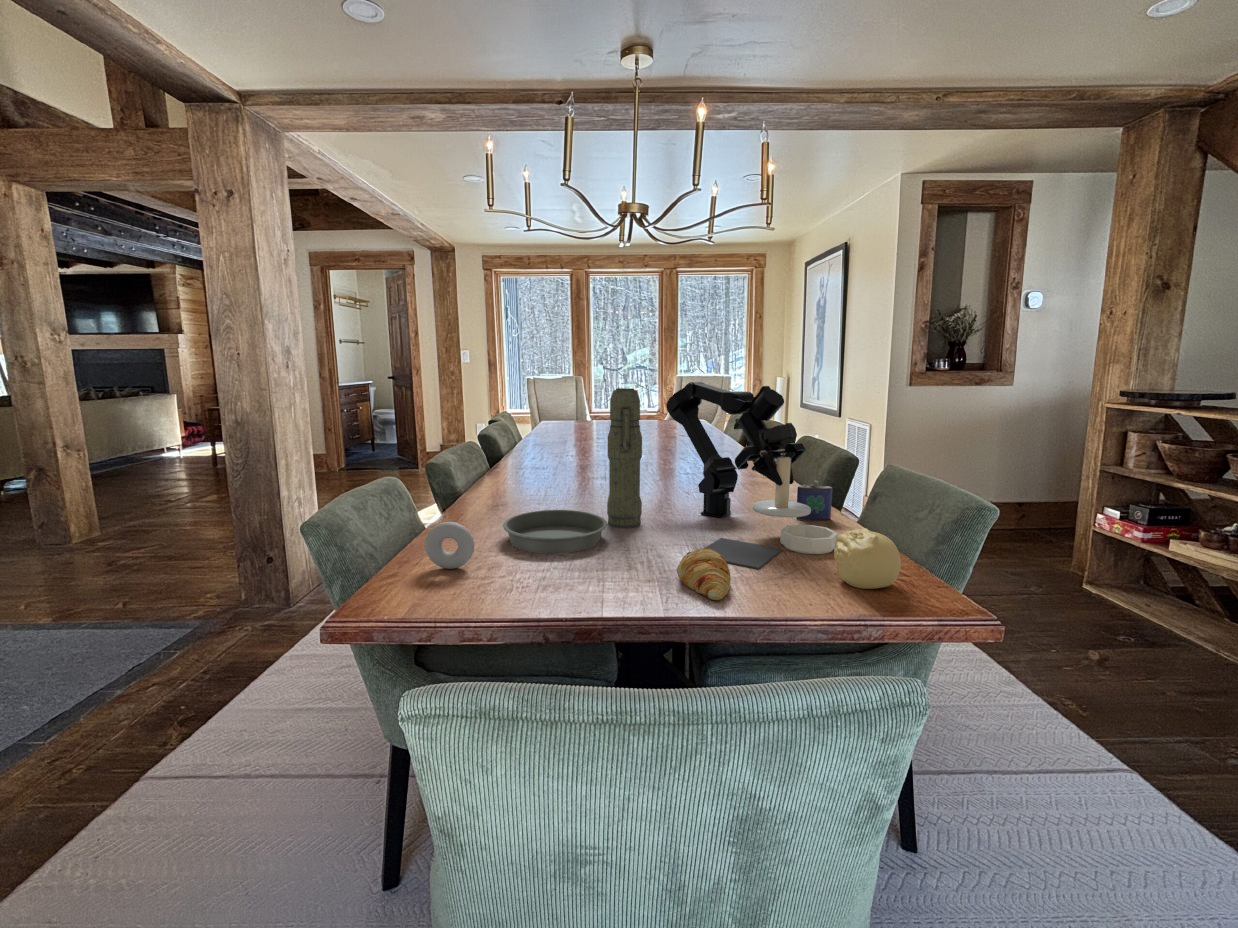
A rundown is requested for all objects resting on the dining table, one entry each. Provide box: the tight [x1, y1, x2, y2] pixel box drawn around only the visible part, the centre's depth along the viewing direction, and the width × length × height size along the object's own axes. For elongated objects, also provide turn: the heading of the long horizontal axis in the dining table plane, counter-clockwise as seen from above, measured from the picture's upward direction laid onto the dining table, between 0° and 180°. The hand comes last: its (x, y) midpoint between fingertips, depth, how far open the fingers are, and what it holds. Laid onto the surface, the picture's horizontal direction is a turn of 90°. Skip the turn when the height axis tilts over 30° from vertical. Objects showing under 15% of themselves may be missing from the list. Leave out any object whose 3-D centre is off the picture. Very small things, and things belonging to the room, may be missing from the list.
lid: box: [752, 457, 811, 518], centre depth 148 cm, size 14×14×13 cm
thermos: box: [606, 387, 643, 529], centre depth 159 cm, size 9×12×35 cm
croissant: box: [676, 547, 732, 601], centre depth 120 cm, size 21×10×8 cm, turn 8°
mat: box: [702, 537, 784, 570], centre depth 138 cm, size 15×15×1 cm
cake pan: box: [502, 509, 608, 554], centre depth 147 cm, size 25×25×4 cm
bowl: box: [779, 523, 839, 555], centre depth 142 cm, size 12×12×4 cm
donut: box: [424, 521, 475, 570], centre depth 127 cm, size 10×4×10 cm, turn 92°
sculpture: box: [833, 527, 902, 590], centre depth 119 cm, size 11×12×11 cm
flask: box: [795, 479, 833, 521], centre depth 166 cm, size 9×3×11 cm, turn 88°
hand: (786, 484), depth 147 cm, fingers closed on lid, 3 cm apart
